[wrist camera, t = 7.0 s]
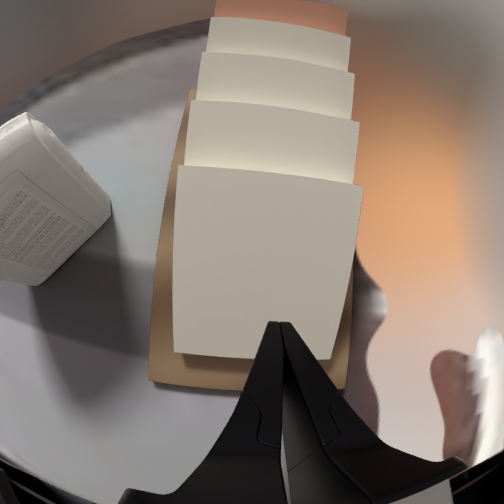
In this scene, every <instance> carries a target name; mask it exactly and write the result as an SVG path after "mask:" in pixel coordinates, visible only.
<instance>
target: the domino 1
mask: <svg viewBox="0 0 504 504" xmlns="http://www.w3.org/2000/svg"><path fill="white" fill-rule="evenodd" d="M362 196H363V186H360V185H354V184H349V183H344V182H338V181H331V180H325V179H319V178H312V177H305V176H297V175H290V174H282V173H273V172H264V171H254V170H244V169H232V168H219V167H204V166H185V165H178V174H177V186H176V200H175V217H174V238H173V286H172V293H173V341H174V352H178V353H187V354H196V355H206V356H218V357H231V358H248V359H255V356H256V353H257V350H258V348H259V345H260V342H261V339H262V337H263V334H264V331H265V328H266V325H267V323H268V321H278V322H281V321H285V322H291V323H292V325H293V326H294V328H295V329H296V331H297V332H298V333H299V335H300V336H301V338H302V339H303V341H304V342H305V343H306V345H307V346H308V348H309V349H310V351H311V352H312V353H313V355H314V356H315V358H316V359H317V360H322V359H330V358H331V354H332V350H333V347H334V343H335V339H336V335H337V332H338V328H339V323H340V319H341V315H342V311H343V307H344V302H345V298H346V293H347V288H348V283H349V278H350V273H351V268H352V263H353V257H354V251H355V245H356V239H357V233H358V226H359V218H360V212H361V203H362Z"/></svg>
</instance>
